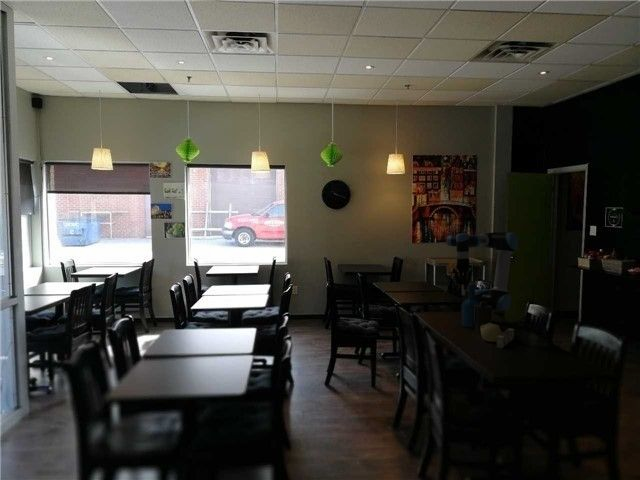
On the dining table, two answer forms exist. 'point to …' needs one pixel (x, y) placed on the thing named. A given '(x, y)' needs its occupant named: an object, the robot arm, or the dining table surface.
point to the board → (505, 338)
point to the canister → (481, 315)
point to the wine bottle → (469, 308)
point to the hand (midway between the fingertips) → (463, 294)
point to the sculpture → (490, 332)
